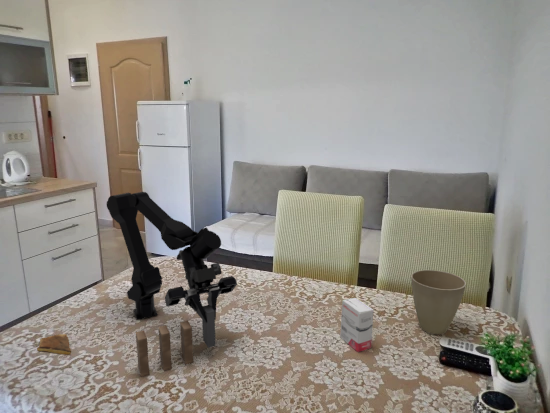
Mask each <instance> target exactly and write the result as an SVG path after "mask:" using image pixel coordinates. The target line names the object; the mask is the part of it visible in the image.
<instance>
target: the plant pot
mask: <svg viewBox="0 0 550 413" xmlns="http://www.w3.org/2000/svg"><path fill="white" fill-rule="evenodd" d="M410 276H411V289H412V298H413V304H414V309H415V314H416V316H417V321H418V325H419V327H420V328H422V329H423V330H422V329H421V330H422V331H424V332H425V331H426V333H429V334H432V335H438V334H439V335H444V334H446V332H447V331H448V329H449V327H450V326H451V324H452V322H453V321H454V319H455V316H456V314H457V313H458V310H459V307H460V305H461V303H462V299H463V296H464V293H465V289H466V287H467V282H466V280H465V279H464V278H462V277H461V276H459V275H456V274H454V273H452V272H447V271H442V270H438V269H437V270H435V269H421V270H417V271H415V272H414V271H413V272H412V273H411V275H410ZM443 333H444V334H443Z"/></svg>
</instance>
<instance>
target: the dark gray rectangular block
mask: <svg viewBox="0 0 550 413" xmlns="http://www.w3.org/2000/svg"><path fill="white" fill-rule="evenodd" d="M202 306H203V309H204V312H205V314H206V318H207V322H206V323H205V322H204V321H203V320H202V319H201V321H202V324H201V325H202V327H201V328H202V341H203V342H204V344H205V345H206V347H207V348H208V349H209V348H212V347H216V345H217V344H216V320H215V311H214V310H213V309H212V307H211V306H210V305H208V304H206V305H202Z"/></svg>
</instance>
